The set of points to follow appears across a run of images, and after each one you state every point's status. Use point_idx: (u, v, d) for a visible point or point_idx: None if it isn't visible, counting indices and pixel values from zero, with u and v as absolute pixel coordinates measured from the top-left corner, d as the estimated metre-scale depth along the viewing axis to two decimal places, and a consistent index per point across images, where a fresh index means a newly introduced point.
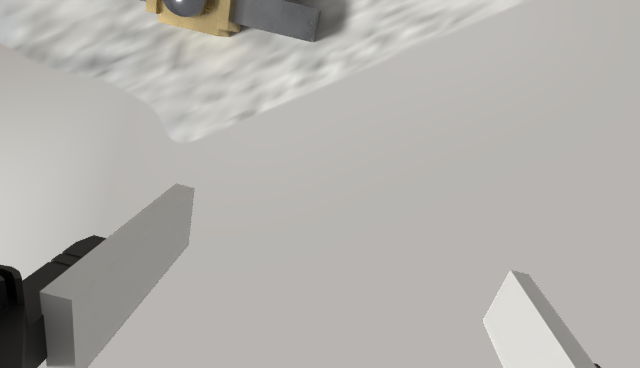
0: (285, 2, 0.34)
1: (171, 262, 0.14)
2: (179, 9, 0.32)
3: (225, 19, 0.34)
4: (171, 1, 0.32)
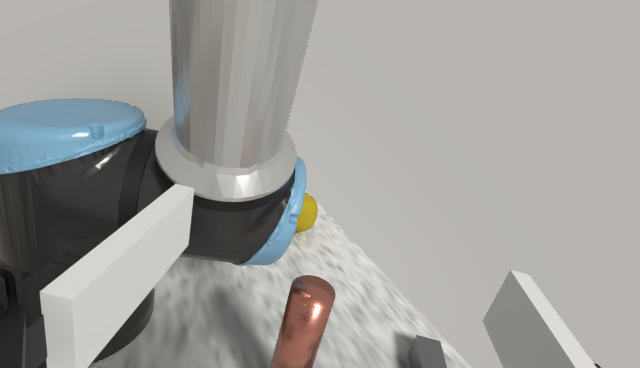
0: (421, 355, 0.41)
1: (171, 262, 0.14)
2: None
3: None
4: None
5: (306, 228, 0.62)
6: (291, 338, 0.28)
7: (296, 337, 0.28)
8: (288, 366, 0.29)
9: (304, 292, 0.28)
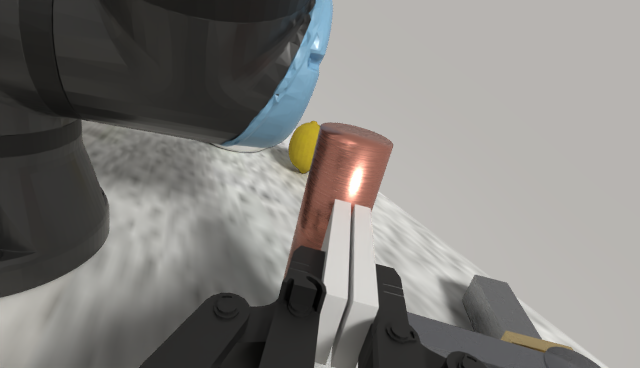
0: (488, 298, 0.29)
1: None
2: None
3: (559, 346, 0.24)
4: None
5: None
6: (319, 214, 0.17)
7: (327, 210, 0.17)
8: None
9: (342, 133, 0.17)
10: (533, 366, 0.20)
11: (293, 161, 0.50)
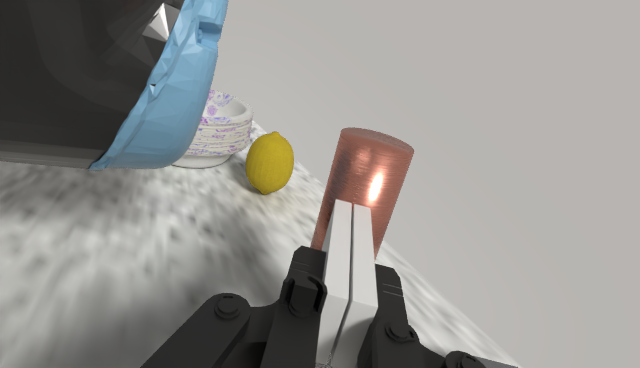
0: None
1: None
2: None
3: None
4: None
5: (277, 186, 0.41)
6: (324, 207, 0.18)
7: (329, 204, 0.17)
8: None
9: (360, 135, 0.17)
10: None
11: (250, 181, 0.41)
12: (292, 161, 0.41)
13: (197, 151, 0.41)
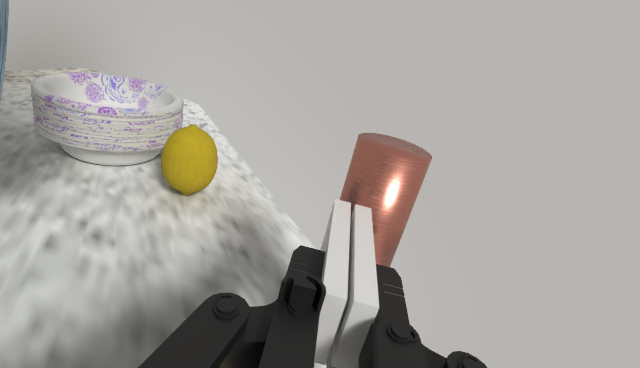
0: None
1: None
2: None
3: None
4: None
5: (196, 186, 0.36)
6: None
7: None
8: None
9: (381, 139, 0.17)
10: None
11: (166, 180, 0.36)
12: (213, 158, 0.36)
13: (108, 147, 0.37)
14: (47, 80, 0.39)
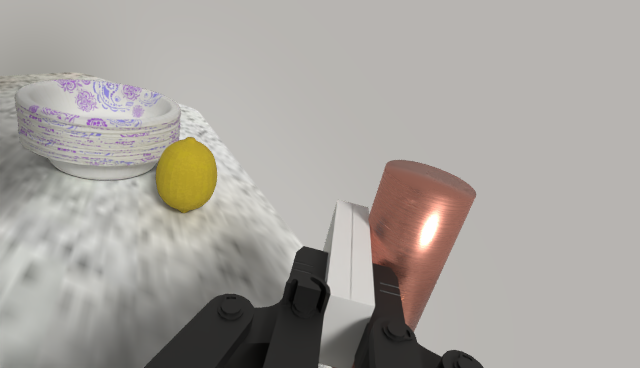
0: None
1: None
2: None
3: None
4: None
5: (194, 203, 0.33)
6: None
7: None
8: None
9: (412, 169, 0.15)
10: None
11: (161, 197, 0.33)
12: (212, 173, 0.34)
13: (98, 161, 0.34)
14: (33, 89, 0.36)
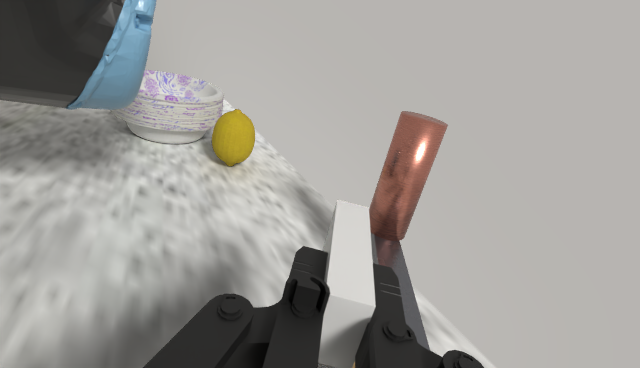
0: None
1: None
2: None
3: None
4: None
5: (239, 157, 0.46)
6: None
7: None
8: None
9: (416, 115, 0.28)
10: None
11: (216, 153, 0.46)
12: (252, 135, 0.46)
13: (170, 127, 0.47)
14: None
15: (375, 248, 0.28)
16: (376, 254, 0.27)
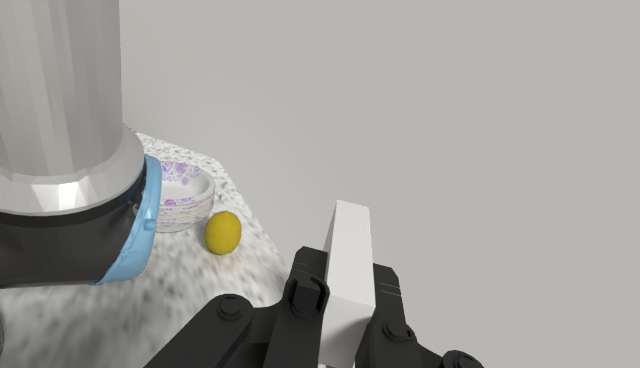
0: None
1: None
2: None
3: None
4: None
5: (228, 251, 0.55)
6: None
7: None
8: None
9: None
10: None
11: (208, 247, 0.55)
12: (239, 232, 0.55)
13: (169, 224, 0.56)
14: None
15: (327, 366, 0.37)
16: None
